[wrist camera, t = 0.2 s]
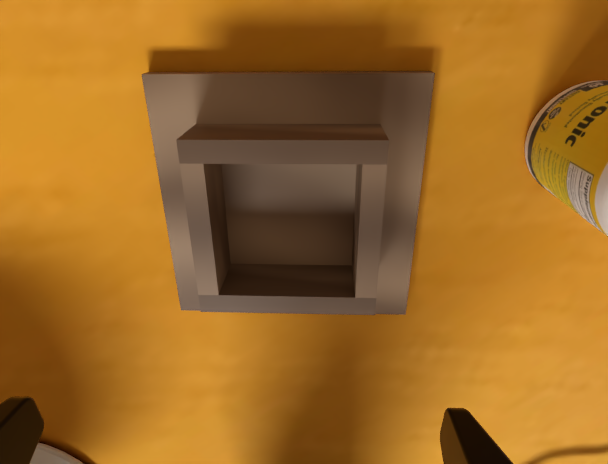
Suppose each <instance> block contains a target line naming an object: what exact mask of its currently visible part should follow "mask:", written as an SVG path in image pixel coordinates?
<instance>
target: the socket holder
mask: <svg viewBox="0 0 608 464" xmlns="http://www.w3.org/2000/svg"><path fill="white" fill-rule="evenodd" d="M434 75H435V73H433V72H431V71H347V72H148V73H144V74H142V79H143V85H144V91H145V97H146V103H147V109H148V115H149V121H150V127H151V133H152V139H153V145H154V151H155V157H156V163H157V169H158V175H159V181H160V187H161V193H162V199H163V205H164V211H165V217H166V223H167V229H168V235H169V241H170V247H171V253H172V259H173V265H174V271H175V277H176V283H177V289H178V295H179V301H180V306H181V310H201V312H246V313H296V314H347V315H375V314H406V307H407V299H408V290H409V282H410V274H411V266H412V257H413V249H414V241H415V232H416V224H417V216H418V207H419V199H420V191H421V183H422V174H423V166H424V158H425V149H426V141H427V133H428V124H429V116H430V108H431V100H432V91H433V83H434Z"/></svg>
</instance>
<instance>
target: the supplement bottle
mask: <svg viewBox="0 0 608 464" xmlns="http://www.w3.org/2000/svg"><path fill="white" fill-rule="evenodd" d="M525 159H526V163H527V166H528V169H529V171H530V173H531V174H532V176H533V177H534V178H535V180H536V181H537V182H538V183H539V184H540V185H541V186H543V187H544V188H545V189H547V190H548V191H549V192H550V193H552V194H553V195H554V196H555V197H557V198H558V199H560V200H561V201H562V202H563V203H565V204H566V205H567V206H569V207H570V208H571V209H573V210H574V211H575V212H577V213H578V214H579V215H581V216H582V217H583V218H584V219H586V220H587V221H588V222H590V223H591V224H592V225H594V226H595V227H596V228H597V229H599V230H600V231H601V232H603V233H604V234H605V235H606V236H608V81H607V80H597V81H589V82H585V83H581V84H578V85H575V86H572V87H570V88H568V89H566V90H564V91H563V92H561V93H559V94H558V95H556V96H555V97H554V98H552V99H551V100H550V101H549V102H548V103H547V104H546V105H545V106H544V107H543V108H542V109H541V110H540V111H539V113H538V114H537V115H536V117H535V118H534V120H533V122H532V124H531V126H530V128H529V130H528V133H527V137H526V141H525Z"/></svg>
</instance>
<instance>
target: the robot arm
mask: <svg viewBox="0 0 608 464" xmlns="http://www.w3.org/2000/svg"><path fill="white" fill-rule="evenodd" d="M43 428H44V420H43V418H42V416H41V414H40V411H39V409H38V407H37V405H36V403H35V401H34V399H33V398H31V397H20V396H15V397H11V398H9V399H7V400H6V401H4V402H3V403H1V404H0V464H30V462H31V459H32V457H33V454H34V452H35V449H36V447H37V445H38V442H39V440H40V437H41V435H42V432H43ZM440 444H441V450H442V456H443V462H444V464H513V463H512V462H511V460H510V459H509V458H508V457H507V456H506V455H505V453H504V452H503V451H502V450H501V449H500V447H499V446H498V445H497V444H496V443H495V442H494V440H493V439H492V438H491V437H490V436H489V435H488V433H487V432H486V431H485V430H484V429H483V428H482V426H481V425H480V424H479V423H478V422H477V420H476V419H475V418H474V417H473V416H472V415H471V413H470V412H469V411H468V410H466V409H464V408H447V409H446V410H445V413H444V418H443V422H442V427H441V431H440Z"/></svg>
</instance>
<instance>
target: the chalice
mask: <svg viewBox="0 0 608 464" xmlns="http://www.w3.org/2000/svg"><path fill="white" fill-rule="evenodd" d="M30 464H83V463H82V462H81V461H79V460H78V459H76V458H74V457H72V456H71V455H69V454H67V453H65V452H63V451H61V450H59V449H56V448H54V447H51V446H49V445H46V444H42V443H38V445H37V447H36V449H35V452H34V454H33V457H32V459H31V462H30Z"/></svg>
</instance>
